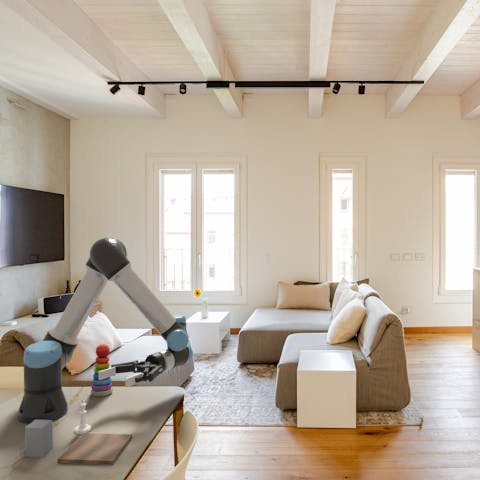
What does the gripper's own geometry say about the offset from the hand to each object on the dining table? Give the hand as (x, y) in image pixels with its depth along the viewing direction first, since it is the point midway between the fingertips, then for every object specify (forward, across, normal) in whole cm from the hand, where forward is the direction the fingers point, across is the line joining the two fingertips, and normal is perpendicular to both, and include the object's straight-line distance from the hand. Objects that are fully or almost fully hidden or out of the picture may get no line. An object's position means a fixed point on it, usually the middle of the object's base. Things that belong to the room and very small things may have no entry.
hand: (112, 379), depth 138 cm
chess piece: (+11, +1, -13) cm, 17 cm away
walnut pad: (+16, -13, -13) cm, 24 cm away
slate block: (+26, -1, -13) cm, 29 cm away
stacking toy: (-13, +22, -13) cm, 29 cm away
